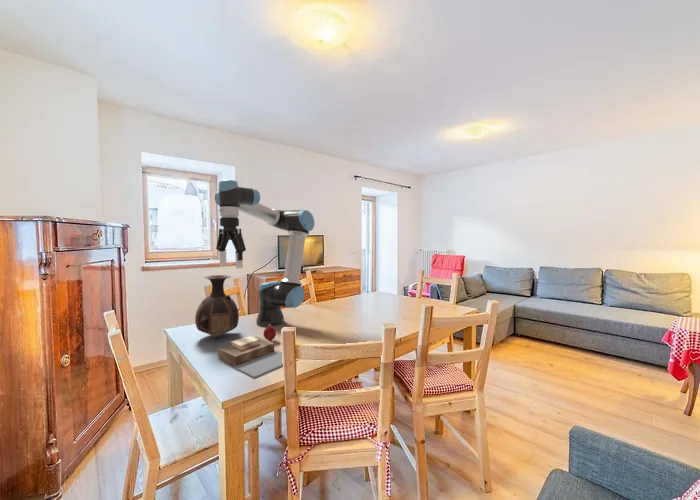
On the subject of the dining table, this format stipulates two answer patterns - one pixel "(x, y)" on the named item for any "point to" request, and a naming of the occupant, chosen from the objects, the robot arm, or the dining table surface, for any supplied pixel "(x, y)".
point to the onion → (269, 333)
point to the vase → (217, 310)
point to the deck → (245, 352)
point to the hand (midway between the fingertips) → (231, 267)
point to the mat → (261, 364)
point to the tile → (245, 342)
